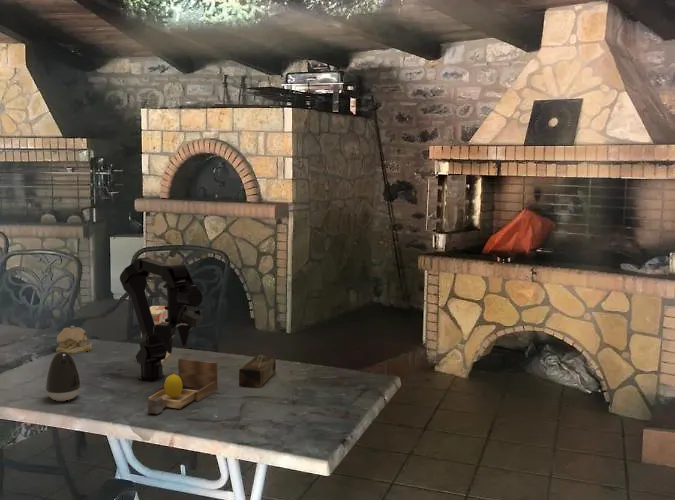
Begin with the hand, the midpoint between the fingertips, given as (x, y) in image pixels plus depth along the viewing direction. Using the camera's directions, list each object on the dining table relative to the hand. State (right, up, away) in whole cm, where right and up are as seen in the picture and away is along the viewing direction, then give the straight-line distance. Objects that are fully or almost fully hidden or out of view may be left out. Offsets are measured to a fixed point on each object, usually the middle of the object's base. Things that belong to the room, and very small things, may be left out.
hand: (177, 349), depth 221 cm
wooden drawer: (+1, -15, -15) cm, 21 cm away
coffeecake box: (-16, -9, +34) cm, 38 cm away
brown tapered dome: (-33, -14, -10) cm, 37 cm away
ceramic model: (-52, -7, +47) cm, 71 cm away
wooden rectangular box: (+25, -12, +12) cm, 30 cm away
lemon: (+2, -14, -12) cm, 18 cm away
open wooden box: (+4, -14, -4) cm, 15 cm away
